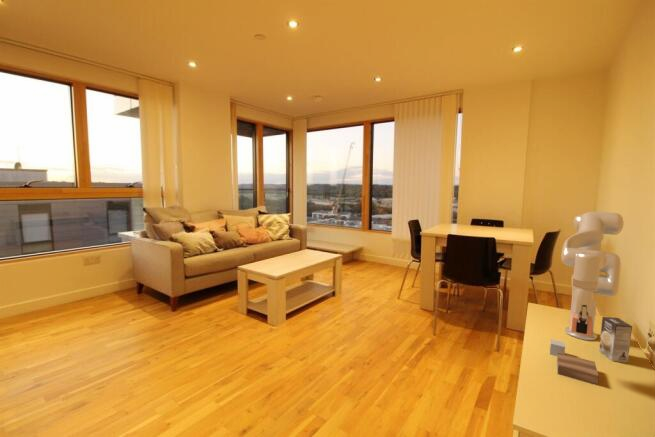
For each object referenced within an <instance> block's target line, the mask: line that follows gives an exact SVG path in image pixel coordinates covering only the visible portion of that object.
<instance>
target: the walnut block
mask: <svg viewBox="0 0 655 437" xmlns="http://www.w3.org/2000/svg"><path fill="white" fill-rule="evenodd" d="M556 366H557V368H556V369H557V370H556V371H557V375H559V376H563V377H567V378H571V379H573V380H577V381H581V382H585V383H588V384H591V385H595V386H598V384H599V373H598V370H597V369H598V368H597V365H596V362H595V361H593V360H589V359H586V358H585V359H584V358H580V357H576V356H572V355H569V354H565V353H564V354H562V353H558V356H556Z"/></svg>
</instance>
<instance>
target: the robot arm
mask: <svg viewBox="0 0 655 437" xmlns="http://www.w3.org/2000/svg"><path fill="white" fill-rule="evenodd" d="M624 222H625V221H624V218H623V216H622V214H620V213H618V212H606V211H605V212H604V211H588V212H584V213H582V214H581V215H580V214H579V215H576V216H575V217H574V219H573V226H574V227H573V228H574V230H575V233H574V234H572V235H570V236H569V237H568V238H566V239H565V241H564V243H563V244H562V249H561V253H560V254H561V255H560V258H561V262H562V264H564V265H565V266H568V267H573V273H572V275H571V282H570V283H571V303H570V312H569V325H568V326H567V327H565V328H564V332H565V333H566V334H567V335H569V336H571V337H573V338H576V339H579V340H584V341H596V340H597V339H598V335H597V334H596V333H594V330H595V329H594V328H595V321H596V320H595V319H596V310H597V300H596V299H595V298H594V294H595V295H600V296H606V297H614V296H615V297H616V296H617V295H618V292H619V287H620V275H621V265H622V263H621V258H620V256H619V255H618V254H616V253H613V252H608V251H607V252H605V251H602V242H603V240H604V235H609V236H610V235H612V236H613V235H614V236H617V235H619V234H620V233H621V232H622V230H623V228H624V225H625V224H624ZM600 272H601V273H605V274H601V273H600ZM572 313H574V314H578V322H577V325H576V332H578V333H583V334H587V326H588V324H587V319H588V317H589V316H591V318H592V321H593V324H592V333H591V337H590V336H586V335H581V334H577V333H572V332H571V328H570V326H571V315H572ZM580 316H582V317H580Z"/></svg>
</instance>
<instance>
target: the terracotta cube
mask: <svg viewBox="0 0 655 437" xmlns="http://www.w3.org/2000/svg"><path fill="white" fill-rule="evenodd" d="M580 317H582V316H580ZM577 322H578V314H574V313H572V315H571V326H570V328H571V332H572V333H577V334H581V335H586V336H590V337H591V333H592V324H593V321H592V318H591V316H589V317H588V319H587V324H588V326H587V334H583V333H578V332H576V325H577Z"/></svg>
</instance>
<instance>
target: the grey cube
mask: <svg viewBox="0 0 655 437" xmlns="http://www.w3.org/2000/svg"><path fill="white" fill-rule="evenodd" d="M565 350H566V343H565V342H564V341H560V340H556V339H550V345H549V355H551V356H553V357H554V356H555V357H557V356H558V353H562V354H565V352H566V351H565Z"/></svg>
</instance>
